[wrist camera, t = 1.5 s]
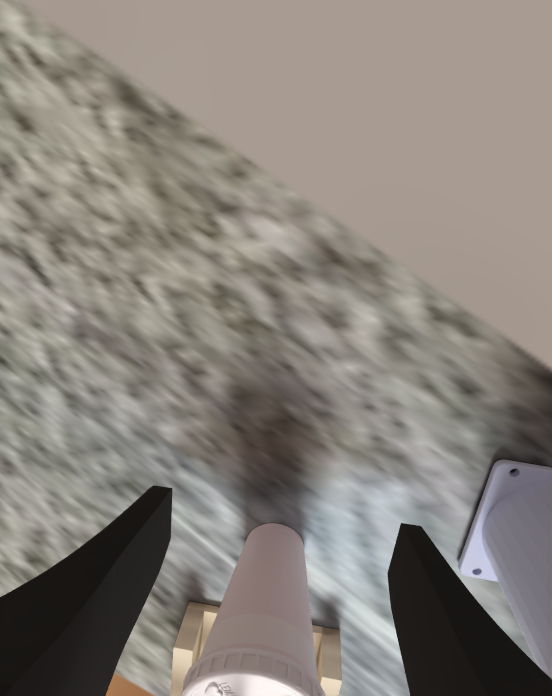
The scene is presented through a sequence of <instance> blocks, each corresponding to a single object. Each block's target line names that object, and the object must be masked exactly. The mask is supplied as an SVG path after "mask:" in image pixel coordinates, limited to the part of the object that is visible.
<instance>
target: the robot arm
mask: <svg viewBox="0 0 552 696" xmlns="http://www.w3.org/2000/svg"><path fill="white" fill-rule="evenodd" d="M512 469H516V471H515V472H513V473H509V472H510V471H511V470H512ZM171 512H172V488H167V487H160V486H152V487H151V488H149V489H148V490H147V491H146V492H145V493H144V494H143V495H142V496H141V497H140V498H139V499H137V500H136V501H135V502H134V503H133V504H132V505H131V506H130V507H129V508H128V509H126V510H125V511H124V512H123V513H122V514H121V515H120V516H118V517H117V518H116V519H115V520H114V521H113V522H111V523H110V524H109V525H108V526H107V527H105V528H104V529H103V530H102V531H101V532H99V533H98V534H97V535H95V536H94V537H93V538H92V539H90V540H89V541H88V542H86V543H85V544H84V545H83V546H81V547H80V548H79V549H77V550H76V551H75V552H73V553H72V554H70V555H69V556H68V557H66V558H65V559H63V560H62V561H60V562H59V563H57V564H56V565H54V566H53V567H51V568H50V569H48V570H47V571H45V572H44V573H42V574H40V575H39V576H37V577H35V578H34V579H32V580H30V581H28V582H27V583H25V584H23V585H21V586H20V587H18V588H16V589H15V590H13V591H11V592H9V593H7V594H6V595H4V596H2V597H0V696H105V695H106V692H107V690H108V687H109V684H110V682H111V679H112V676H113V674H114V671H115V668H116V666H117V663H118V660H119V658H120V656H121V653H122V651H123V649H124V646H125V644H126V642H127V640H128V638H129V636H130V634H131V631H132V629H133V627H134V625H135V623H136V621H137V619H138V617H139V614H140V612H141V610H142V608H143V606H144V604H145V602H146V600H147V598H148V595H149V593H150V591H151V589H152V587H153V585H154V583H155V580H156V578H157V576H158V574H159V572H160V569H161V566H162V563H163V560H164V557H165V554H166V551H167V548H168V545H169V542H170V539H171ZM458 568H459V570H460V573H461V574H463V575H465V576H469V577H475V578H480V579H486V580H491V581H497V582H499V584H500V586H501V588H502V590H503V592H504V595H505V597H506V599H507V601H508V603H509V605H510V607H511V609H512V612H513V614H514V616H515V618H516V620H517V622H518V624H519V627H520V629H521V631H522V633H523V635H524V637H525V639H526V642H527V644H528V646H529V648H530V650H531V652H532V654H533V656H534V659H535V661H536V663H537V665H538V666H537V665H536V664H535V663H534V662H533V661H532V660H531V659H530V658H529V657H528V656H527V655H526V654H525V653H524V652H523V651H522V650H521V649H520V648H519V647H518V646H517V645H516V644H515V643H514V642H513V641H512V640H511V639H510V637H509V636H508V635H507V634H506V633H505V632H504V631H503V630H502V629H501V628H500V627H499V626H498V625H497V624H496V622H495V621H494V620H493V619H492V618H491V617H490V616H489V614H488V613H487V612H486V611H485V610H484V609H483V607H482V606H481V605H480V604H479V603H478V601H477V600H476V599H475V598H474V597H473V595H472V594H471V593H470V592H469V590H468V589H467V588H466V587H465V585H464V584H463V583H462V581H461V580H460V579H459V577H458V576H457V575H456V574H455V572H454V571H453V570H452V568H451V567H450V566H449V564H448V563H447V561H446V560H445V559H444V557H443V556H442V555H441V553H440V552H439V550H438V549H437V548H436V546H435V545H434V543H433V542H432V541H431V539H430V538H429V536H428V535H427V534H426V532H425V531H424V530H423V528H422V527H421V526H416V525H410V524H403V523H401V525H400V529H399V533H398V537H397V540H396V544H395V548H394V551H393V555H392V559H391V563H390V566H389V570H388V583H389V593H390V602H391V610H392V614H393V619H394V624H395V628H396V633H397V638H398V642H399V646H400V651H401V655H402V660H403V664H404V669H405V673H406V678H407V682H408V687H409V691H410V696H552V467H546V466H540V465H534V464H528V463H522V462H516V461H510V460H499V461H497V462H496V463H495V464H494V465H493V468H492V470H491V473H490V476H489V479H488V482H487V485H486V487H485V490H484V493H483V496H482V499H481V501H480V504H479V507H478V510H477V513H476V515H475V518H474V521H473V524H472V527H471V529H470V532H469V535H468V538H467V541H466V543H465V546H464V549H463V552H462V555H461V558H460V560H459V563H458ZM476 568H478V569H476ZM474 569H476V570H474Z"/></svg>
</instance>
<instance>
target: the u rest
mask: <svg viewBox="0 0 552 696" xmlns="http://www.w3.org/2000/svg"><path fill="white" fill-rule="evenodd" d="M219 608H220V607H217V606H212V605H206V604H201V603H196V602H191V601H189V604H188V607H187V610H186V612H185V615H184V618H183V621H182V624H181V627H180V630H179V633H178V636H177V639H176V642H175V645H174V652H173V667H172V682H171V696H181V693H182V690H183V681H184V679H185V676H186V674H187V672H188V670H189V668H190V667H191V666H193V665H194V664H195V663H196V662H197V661H198V660H199V659H200V656H201V653H202V651H203V648H204V645H205V643H206V640H207V637H208V635H209V633H210V631H211V628H212V626H213V623H214V621H215V618H216V615H217V613H218V610H219ZM312 630H313V639H314V649H315V656H316V667H317V678H318V682H319V683H320V685H321V687H322V689H323V691H324V692H325V694H326V696H338V694H339V690H340V686H341V683H342V670H341V647H340V630H336V629H331V628H326V627H321V626H315V625H312Z"/></svg>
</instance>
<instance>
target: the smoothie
mask: <svg viewBox="0 0 552 696" xmlns="http://www.w3.org/2000/svg"><path fill="white" fill-rule="evenodd" d="M181 696H326V694H325V692H324V691H323V689H322V687H321V685H320V683H319V682H318V678H317V667H316V656H315V649H314V639H313V630H312V620H311V610H310V601H309V591H308V582H307V572H306V562H305V553H304V545H303V541H302V539H301V537H300V536H299V535H298V534H297V533H296V532H295V531H294V530H293V529H291V528H289V527H287V526H285V525H282V524H277V523H268V524H263V525H260V526H258V527H256V528H255V529H253V530H252V531H251V532H250V534H249V535H248V537H247V540H246V542H245V545H244V547H243V550H242V552H241V555H240V557H239V560H238V562H237V565H236V567H235V570H234V573H233V575H232V578H231V580H230V583H229V585H228V588H227V590H226V593H225V595H224V598H223V600H222V603H221V605H220V608H219V610H218V613H217V615H216V618H215V621H214V623H213V626H212V628H211V631H210V633H209V635H208V637H207V640H206V643H205V645H204V648H203V651H202V653H201V656H200V659H199V660H198V661H197V662H196V663H195V664H194V665H193V666H191V667H190V668H189V670H188V672H187V674H186V676H185V679H184V681H183V690H182V693H181Z"/></svg>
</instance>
